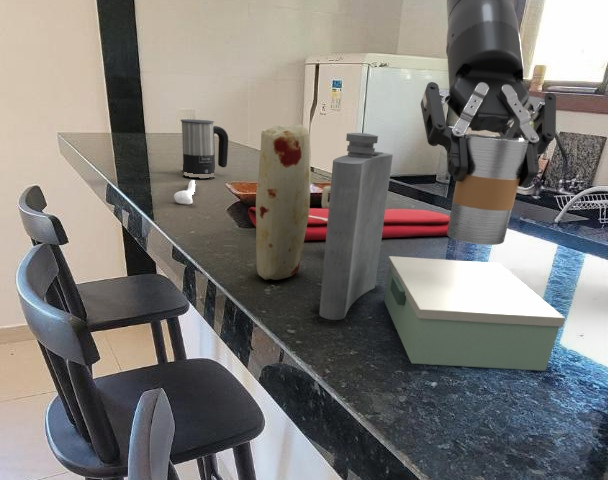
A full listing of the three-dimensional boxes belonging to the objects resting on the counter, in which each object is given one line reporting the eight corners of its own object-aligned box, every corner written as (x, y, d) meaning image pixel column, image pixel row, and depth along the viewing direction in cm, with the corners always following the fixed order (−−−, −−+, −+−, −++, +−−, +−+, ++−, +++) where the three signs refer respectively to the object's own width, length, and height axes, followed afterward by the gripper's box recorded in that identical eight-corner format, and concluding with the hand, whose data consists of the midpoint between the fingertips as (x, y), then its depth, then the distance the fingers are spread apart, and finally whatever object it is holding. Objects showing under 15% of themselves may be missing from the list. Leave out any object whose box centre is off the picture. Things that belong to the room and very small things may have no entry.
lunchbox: (493, 307, 71) (504, 263, 68) (554, 372, 54) (571, 318, 51) (377, 300, 70) (383, 255, 67) (403, 364, 53) (413, 308, 51)
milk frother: (199, 180, 145) (198, 121, 138) (158, 172, 152) (155, 116, 146) (232, 176, 156) (233, 121, 149) (193, 169, 163) (192, 116, 156)
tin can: (492, 232, 60) (515, 137, 55) (513, 246, 54) (539, 142, 50) (439, 228, 60) (458, 132, 55) (454, 243, 54) (476, 137, 50)
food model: (286, 289, 71) (296, 126, 62) (242, 280, 73) (245, 121, 64) (312, 270, 79) (324, 125, 70) (271, 263, 81) (278, 120, 72)
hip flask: (340, 321, 62) (360, 138, 53) (308, 314, 63) (322, 134, 54) (377, 284, 75) (398, 132, 66) (350, 279, 77) (367, 129, 68)
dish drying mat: (465, 237, 107) (469, 218, 105) (274, 244, 91) (275, 222, 89) (420, 219, 120) (423, 202, 118) (246, 223, 104) (247, 203, 102)
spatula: (181, 183, 139) (181, 172, 138) (197, 184, 140) (197, 173, 138) (173, 204, 114) (172, 191, 113) (192, 205, 115) (192, 192, 114)
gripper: (428, 11, 54) (434, 147, 49) (565, 24, 55) (586, 159, 49) (409, 72, 61) (413, 196, 56) (530, 83, 62) (545, 206, 57)
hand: (494, 178), depth 53 cm, fingers closed on tin can, 6 cm apart
